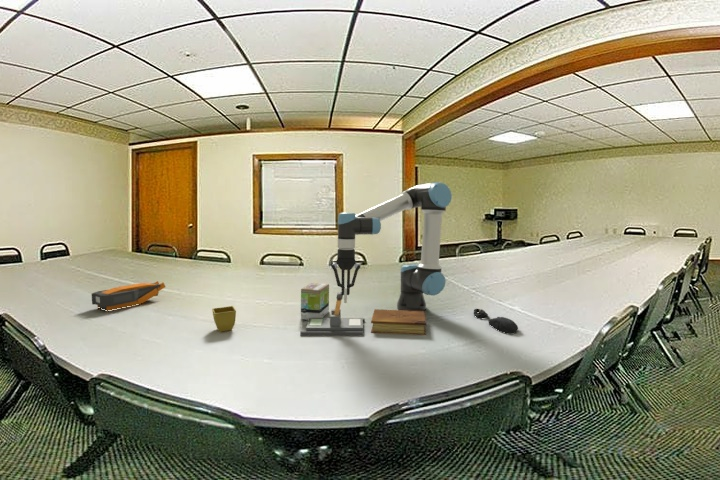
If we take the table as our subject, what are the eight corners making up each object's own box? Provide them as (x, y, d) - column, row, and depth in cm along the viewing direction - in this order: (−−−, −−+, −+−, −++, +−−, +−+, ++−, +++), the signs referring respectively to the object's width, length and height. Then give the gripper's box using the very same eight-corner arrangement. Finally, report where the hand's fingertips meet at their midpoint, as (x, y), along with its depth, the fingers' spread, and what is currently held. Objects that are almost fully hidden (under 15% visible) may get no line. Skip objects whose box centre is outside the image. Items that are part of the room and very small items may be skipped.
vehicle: (170, 299, 214) (169, 282, 214) (103, 314, 186) (101, 294, 185) (156, 296, 222) (155, 279, 221) (90, 309, 194) (89, 290, 193)
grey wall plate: (364, 321, 175) (364, 318, 175) (365, 335, 156) (365, 332, 156) (306, 321, 175) (306, 318, 175) (300, 335, 156) (300, 332, 156)
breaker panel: (362, 323, 172) (362, 308, 172) (363, 333, 158) (363, 317, 158) (310, 323, 172) (310, 308, 172) (306, 333, 158) (305, 317, 158)
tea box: (320, 320, 176) (320, 289, 174) (300, 319, 178) (299, 288, 176) (329, 311, 190) (329, 283, 189) (310, 310, 192) (310, 282, 191)
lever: (338, 320, 168) (343, 292, 167) (337, 324, 162) (342, 295, 161) (332, 319, 168) (337, 291, 167) (331, 323, 162) (336, 294, 161)
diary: (423, 322, 175) (424, 310, 175) (425, 336, 157) (426, 323, 156) (374, 320, 178) (374, 308, 178) (370, 333, 160) (371, 320, 159)
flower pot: (215, 334, 157) (214, 313, 156) (212, 328, 165) (212, 308, 164) (236, 331, 161) (236, 310, 160) (233, 325, 169) (233, 305, 168)
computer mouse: (504, 336, 157) (505, 323, 156) (466, 314, 188) (467, 303, 188) (524, 334, 159) (525, 321, 158) (483, 312, 190) (484, 302, 190)
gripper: (360, 247, 166) (359, 300, 168) (332, 247, 166) (331, 299, 168) (361, 249, 158) (360, 304, 160) (331, 249, 158) (330, 304, 160)
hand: (345, 302), depth 164 cm, fingers closed
